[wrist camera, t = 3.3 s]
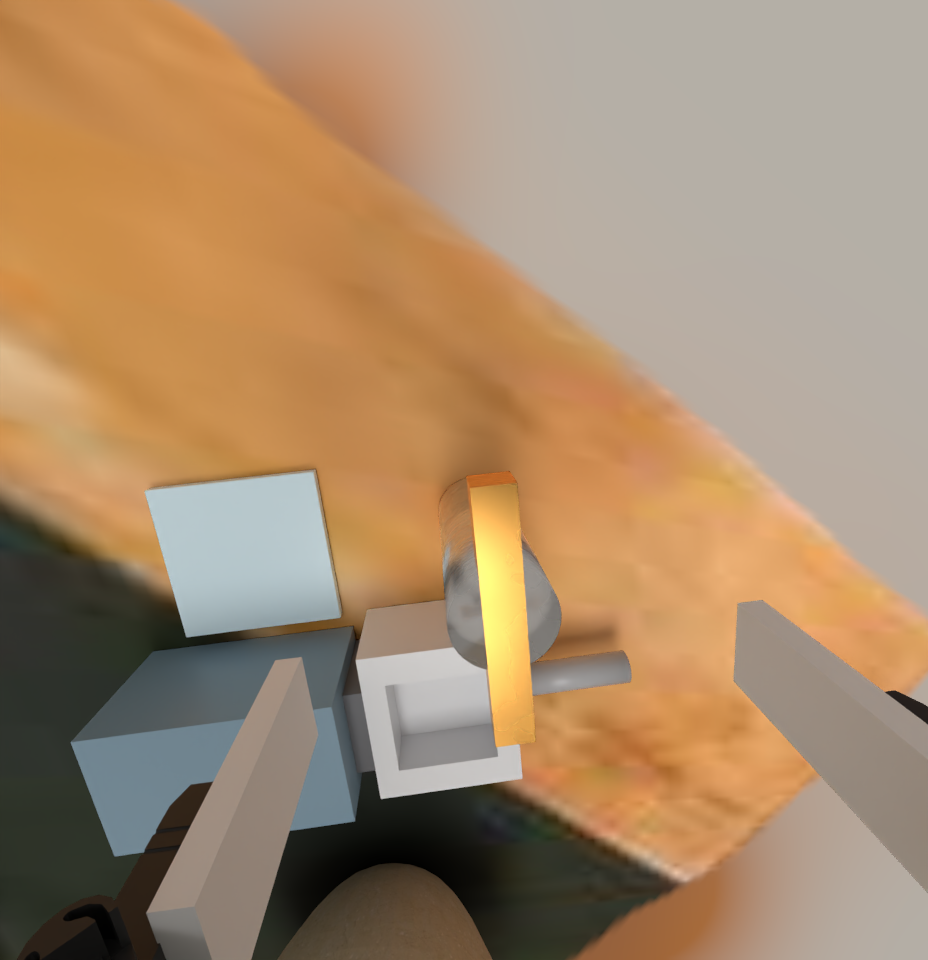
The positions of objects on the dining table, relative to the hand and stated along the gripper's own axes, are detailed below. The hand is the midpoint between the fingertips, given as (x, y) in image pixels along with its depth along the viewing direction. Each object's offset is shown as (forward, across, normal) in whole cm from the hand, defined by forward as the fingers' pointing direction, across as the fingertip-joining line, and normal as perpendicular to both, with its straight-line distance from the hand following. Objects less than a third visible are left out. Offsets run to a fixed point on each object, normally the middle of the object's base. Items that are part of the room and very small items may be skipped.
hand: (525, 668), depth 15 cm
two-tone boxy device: (+14, -6, -12) cm, 20 cm away
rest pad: (+14, -13, -1) cm, 20 cm away
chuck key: (+14, 0, 0) cm, 14 cm away
